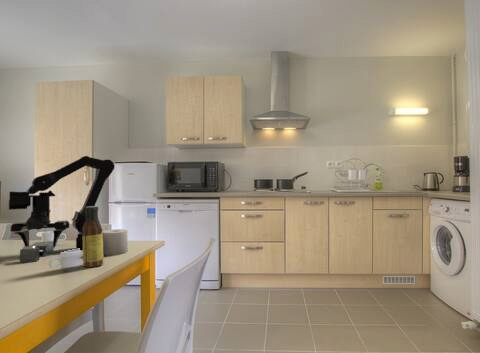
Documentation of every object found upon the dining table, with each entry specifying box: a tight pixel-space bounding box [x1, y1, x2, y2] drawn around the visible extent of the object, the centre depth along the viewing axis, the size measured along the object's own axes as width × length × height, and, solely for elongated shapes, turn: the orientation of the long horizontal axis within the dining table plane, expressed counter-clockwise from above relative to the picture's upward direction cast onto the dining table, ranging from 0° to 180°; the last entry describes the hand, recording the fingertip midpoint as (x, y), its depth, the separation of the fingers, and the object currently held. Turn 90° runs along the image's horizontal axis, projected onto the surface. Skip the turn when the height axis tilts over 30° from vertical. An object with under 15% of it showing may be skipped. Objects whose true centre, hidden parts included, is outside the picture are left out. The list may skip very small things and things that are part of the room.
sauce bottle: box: [82, 205, 104, 268], centre depth 104 cm, size 6×6×20 cm
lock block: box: [29, 240, 55, 257], centre depth 121 cm, size 6×9×4 cm
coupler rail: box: [19, 244, 43, 264], centre depth 115 cm, size 5×14×5 cm, turn 15°
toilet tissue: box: [102, 228, 129, 257], centre depth 121 cm, size 9×13×9 cm
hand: (41, 248), depth 121 cm, fingers open, 9 cm apart
